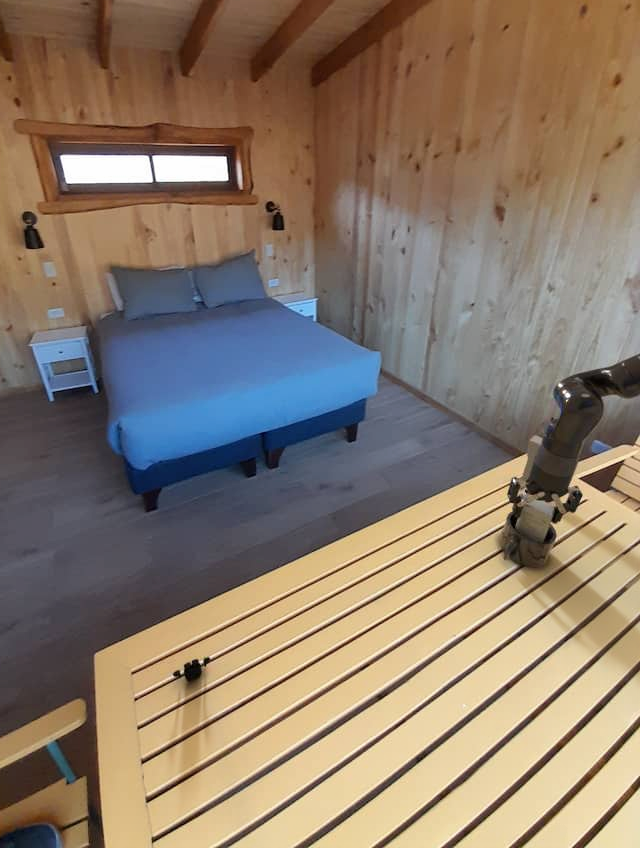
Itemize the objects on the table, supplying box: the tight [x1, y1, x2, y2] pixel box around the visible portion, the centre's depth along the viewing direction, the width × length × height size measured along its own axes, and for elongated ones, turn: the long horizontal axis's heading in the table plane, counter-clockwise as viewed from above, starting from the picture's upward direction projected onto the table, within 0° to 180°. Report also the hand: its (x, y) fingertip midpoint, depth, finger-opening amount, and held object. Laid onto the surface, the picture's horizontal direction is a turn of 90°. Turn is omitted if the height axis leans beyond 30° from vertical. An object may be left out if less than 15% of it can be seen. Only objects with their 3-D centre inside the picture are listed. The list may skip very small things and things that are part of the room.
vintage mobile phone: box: [518, 417, 555, 490], centre depth 114 cm, size 4×5×25 cm
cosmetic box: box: [515, 494, 556, 542], centre depth 96 cm, size 6×4×12 cm
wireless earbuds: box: [172, 656, 211, 682], centre depth 75 cm, size 7×2×5 cm, turn 113°
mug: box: [499, 511, 557, 568], centre depth 98 cm, size 14×10×8 cm
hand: (534, 517), depth 95 cm, fingers closed on cosmetic box, 7 cm apart
